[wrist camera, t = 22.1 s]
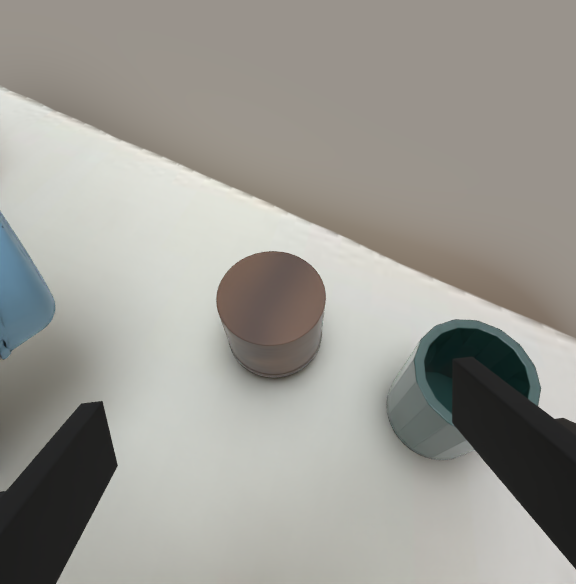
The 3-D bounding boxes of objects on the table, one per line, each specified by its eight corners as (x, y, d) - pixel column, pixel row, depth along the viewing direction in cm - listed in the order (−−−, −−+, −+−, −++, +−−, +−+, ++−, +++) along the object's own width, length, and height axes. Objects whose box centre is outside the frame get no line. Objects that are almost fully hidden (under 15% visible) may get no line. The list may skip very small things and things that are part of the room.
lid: (214, 359, 38) (194, 317, 31) (258, 288, 42) (249, 236, 35) (296, 399, 36) (296, 365, 29) (334, 321, 40) (343, 273, 33)
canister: (373, 432, 34) (398, 400, 26) (403, 353, 38) (433, 303, 30) (467, 478, 32) (528, 460, 24) (489, 390, 36) (548, 347, 28)
